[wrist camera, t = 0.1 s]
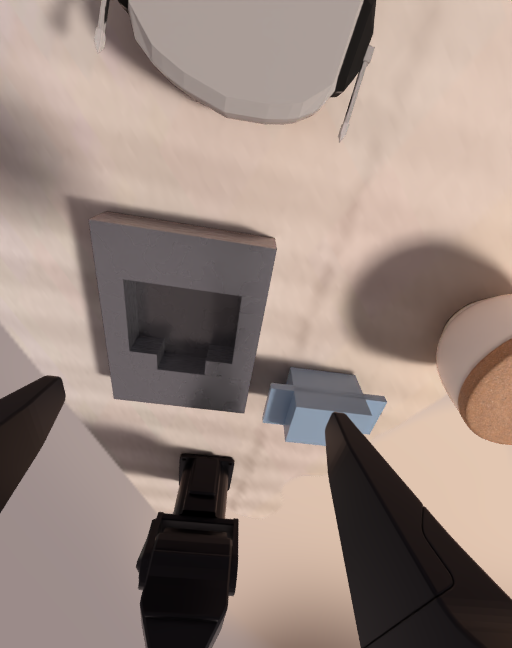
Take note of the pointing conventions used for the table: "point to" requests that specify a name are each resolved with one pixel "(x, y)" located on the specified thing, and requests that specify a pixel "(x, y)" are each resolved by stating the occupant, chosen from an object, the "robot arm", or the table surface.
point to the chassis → (180, 309)
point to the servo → (319, 404)
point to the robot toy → (255, 52)
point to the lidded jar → (480, 366)
